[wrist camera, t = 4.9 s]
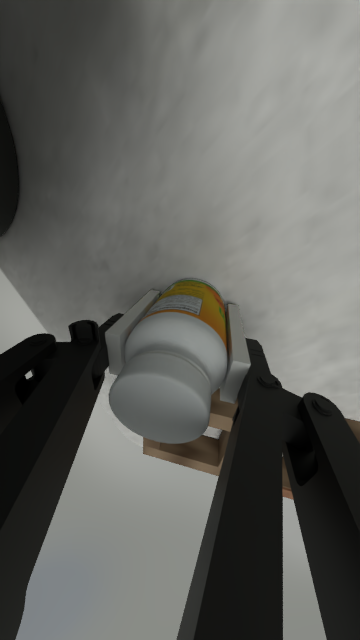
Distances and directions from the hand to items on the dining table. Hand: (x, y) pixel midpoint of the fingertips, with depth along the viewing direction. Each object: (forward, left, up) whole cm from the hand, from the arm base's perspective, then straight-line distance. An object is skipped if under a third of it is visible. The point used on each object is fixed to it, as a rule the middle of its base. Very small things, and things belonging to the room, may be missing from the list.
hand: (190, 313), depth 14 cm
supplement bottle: (0, 0, -1) cm, 1 cm away
